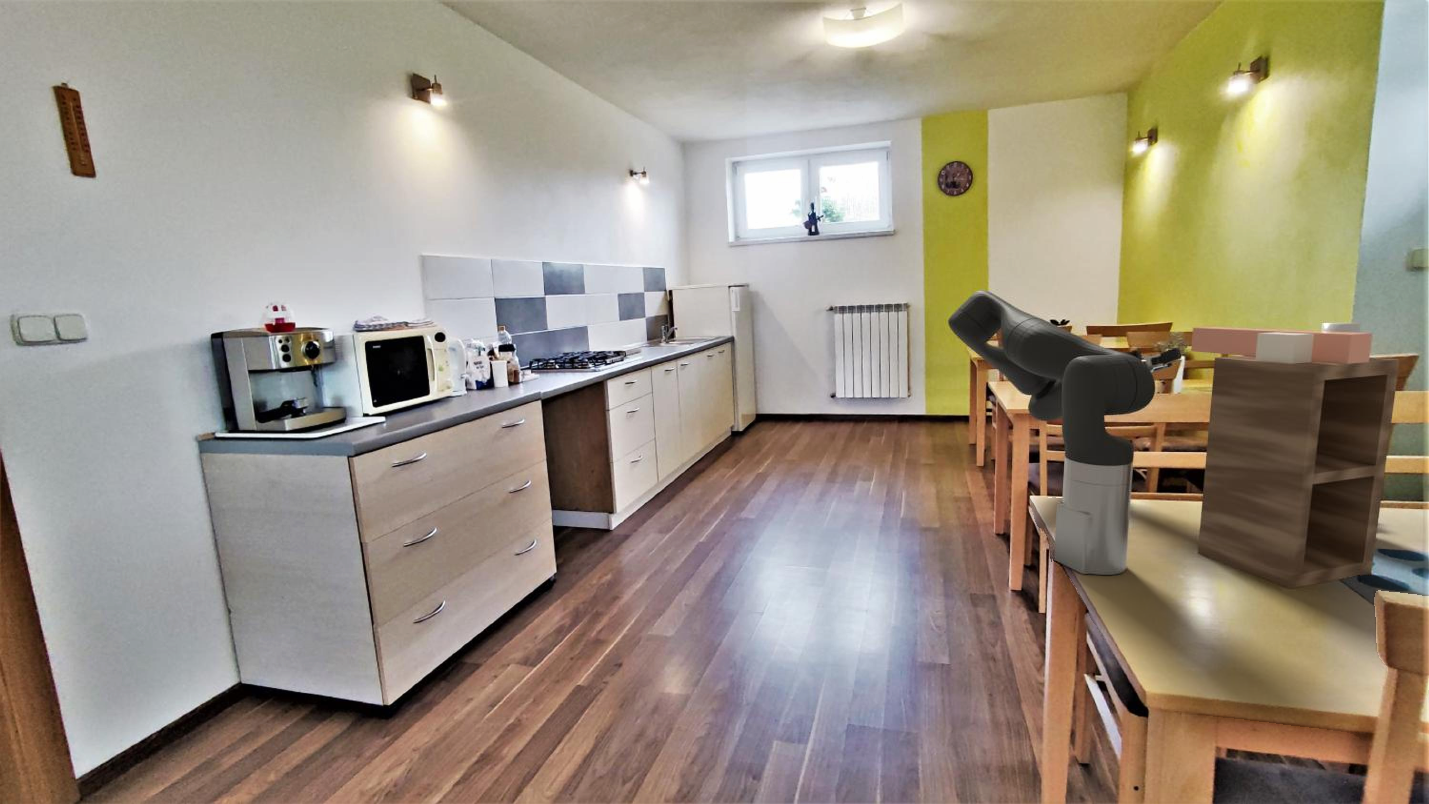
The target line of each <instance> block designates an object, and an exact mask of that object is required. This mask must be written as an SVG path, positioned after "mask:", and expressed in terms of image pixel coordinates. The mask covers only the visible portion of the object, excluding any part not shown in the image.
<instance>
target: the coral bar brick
mask: <svg viewBox="0 0 1429 804" xmlns="http://www.w3.org/2000/svg"><path fill="white" fill-rule="evenodd" d="M1273 332H1282V333H1304V334H1314V339H1313V348H1312V357H1311V361H1319V362H1332V363H1344V364H1351V363H1364V362H1369V357H1370V358H1371V356H1370V355H1371V350H1372V348H1371V346H1372V340H1373V332H1360V333H1354V332H1329V331H1321V330H1305V329H1304V330H1298V329H1278V328H1277V329H1276V328H1274V329H1273V328H1254V327H1253V328H1252V327H1251V328H1250V327H1229V326H1228V327H1227V326H1224V327H1223V326H1206V327H1205V326H1201V327H1200V326H1199V327H1193V328H1192V336H1191V337H1192V338H1191V349H1190V352H1197V353H1208V354H1209V353H1210V354H1220V355H1231V356H1256V348H1257V338H1258V333H1273Z"/></svg>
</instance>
